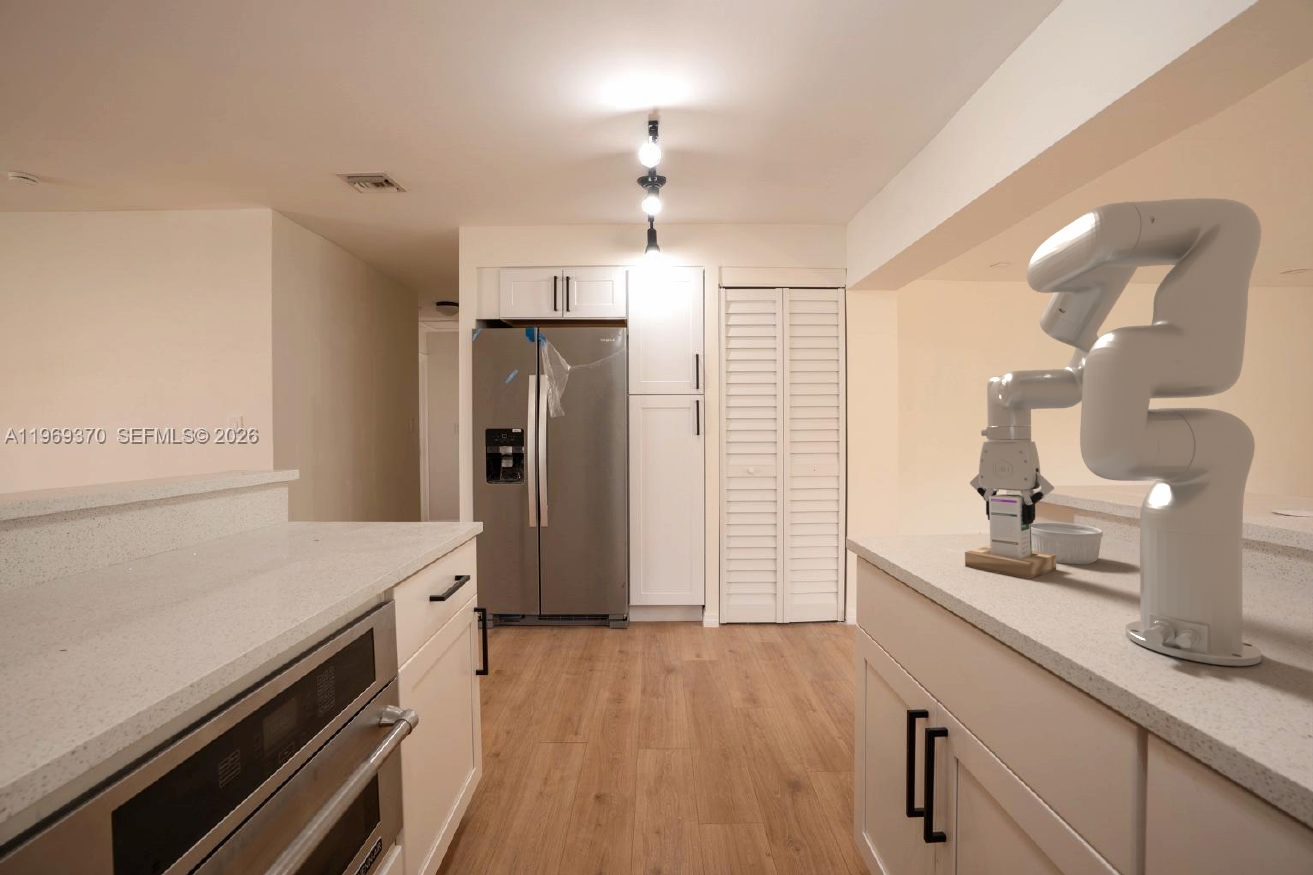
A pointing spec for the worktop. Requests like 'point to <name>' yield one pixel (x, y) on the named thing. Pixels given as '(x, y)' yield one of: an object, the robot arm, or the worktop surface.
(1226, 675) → the worktop surface
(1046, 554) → the holder block
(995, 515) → the syrup box
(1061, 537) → the ramekin
